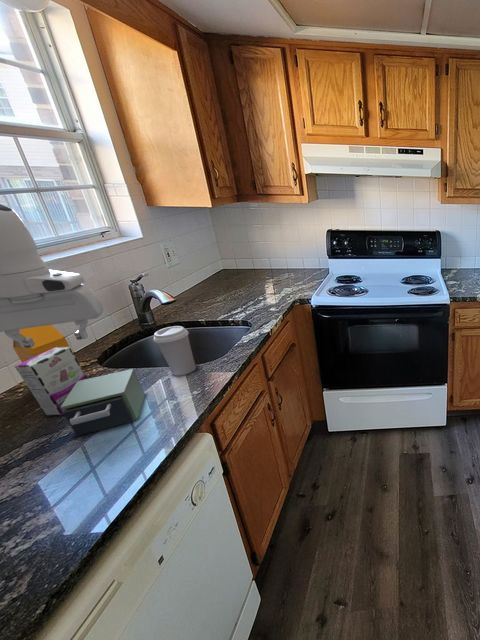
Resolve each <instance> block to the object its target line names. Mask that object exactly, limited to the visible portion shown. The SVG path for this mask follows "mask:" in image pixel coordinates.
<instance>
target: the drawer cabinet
mask: <svg viewBox="0 0 480 640" xmlns="http://www.w3.org/2000/svg"><path fill="white" fill-rule="evenodd" d="M121 395H122V397H123V399H124V401H125V403H126V405H127V407H128V409H129V411H130V413H131V415H132V417H133V420H132V421H131V422H135V421H138V419H139V416H140V413H141V409H142V406H143V403H144V399H145V396H146V393H145V391H144V389H143V387H142V384H141V383H140V380H139V377H138V375H137V374H136V371H135V369H134V368H130V369H127V370H122V371H118V372H113V373H108V374H103V375H99V376H94V377H90V378H87V379H85V380H81V381H77V383H76V384H75V386H74V387H73V389H72V390H71V392H70V393H69V395H68V396H67V398H66V399H65V401H64V403H63V404H62V406H61V407H60V408H61V409H62V411H63V413H64V411H65V410H70V409H71V408H72V407H76V406H80V405H84V404H88V403H92V402H96V401H100V400H104V399H108V398H112V397H116V396H121ZM126 423H128V422H126ZM126 423H125V424H126ZM115 426H117V425H115ZM115 426H114V427H115Z"/></svg>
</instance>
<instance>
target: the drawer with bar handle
mask: <svg viewBox="0 0 480 640" xmlns="http://www.w3.org/2000/svg"><path fill="white" fill-rule="evenodd" d="M63 416H64V418H66V420H67V422H68V424H69V426H70V427H71V429H72V430H73V431H72V432H74V434H75V435H76V437H79V436H82V435H86V434H90V433H93V432H97V431H100V430H105V429H108V428H112V427H115V425H116V426H119V425H123V424H126V422H127V423H130V422H133V421H132V420H133V417H132V415H131V413H130V411H129V409H128V407H127V405H126V403H125V401H124V399H123V397H122V395H121V396H116V397H112V398H108V399H104V400H100V401H96V402H92V403H88V404H84V405H80V406H76V407H72V408H71V409H70V410H65V411H64V413H63Z"/></svg>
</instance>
